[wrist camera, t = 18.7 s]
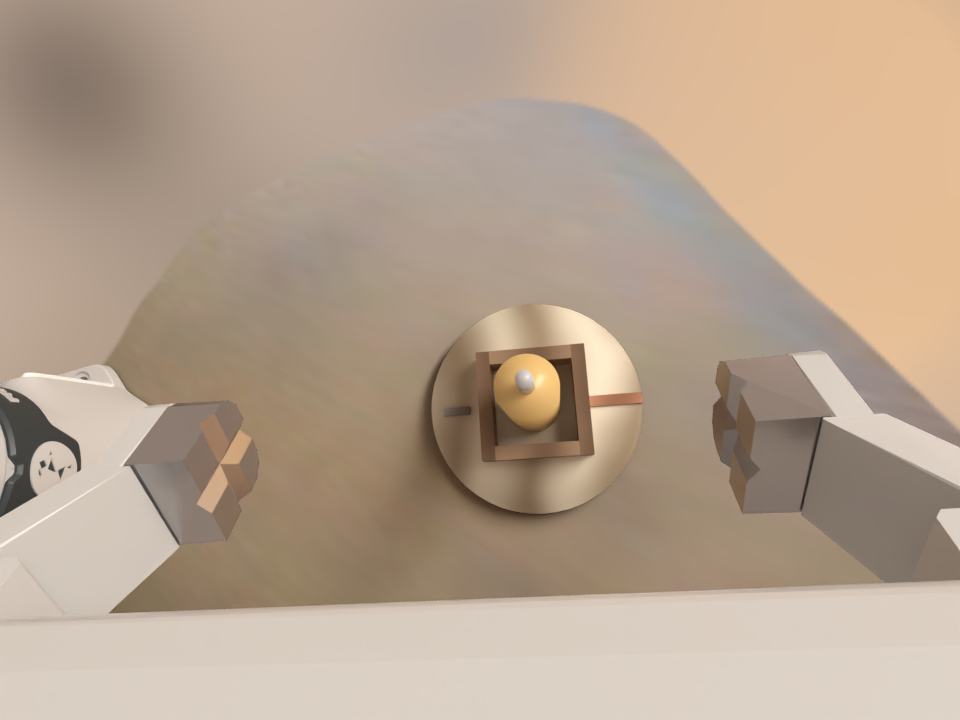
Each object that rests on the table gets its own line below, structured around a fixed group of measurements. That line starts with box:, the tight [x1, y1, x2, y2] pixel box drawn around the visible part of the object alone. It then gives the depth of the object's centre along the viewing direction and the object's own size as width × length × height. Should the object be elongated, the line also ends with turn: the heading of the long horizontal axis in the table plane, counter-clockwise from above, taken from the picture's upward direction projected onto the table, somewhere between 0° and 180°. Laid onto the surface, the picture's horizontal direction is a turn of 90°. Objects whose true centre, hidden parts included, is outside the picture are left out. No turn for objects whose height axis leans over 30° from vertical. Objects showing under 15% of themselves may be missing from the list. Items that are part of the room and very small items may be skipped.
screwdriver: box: [494, 354, 560, 432], centre depth 40 cm, size 4×4×13 cm
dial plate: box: [432, 304, 643, 514], centre depth 46 cm, size 16×16×4 cm
